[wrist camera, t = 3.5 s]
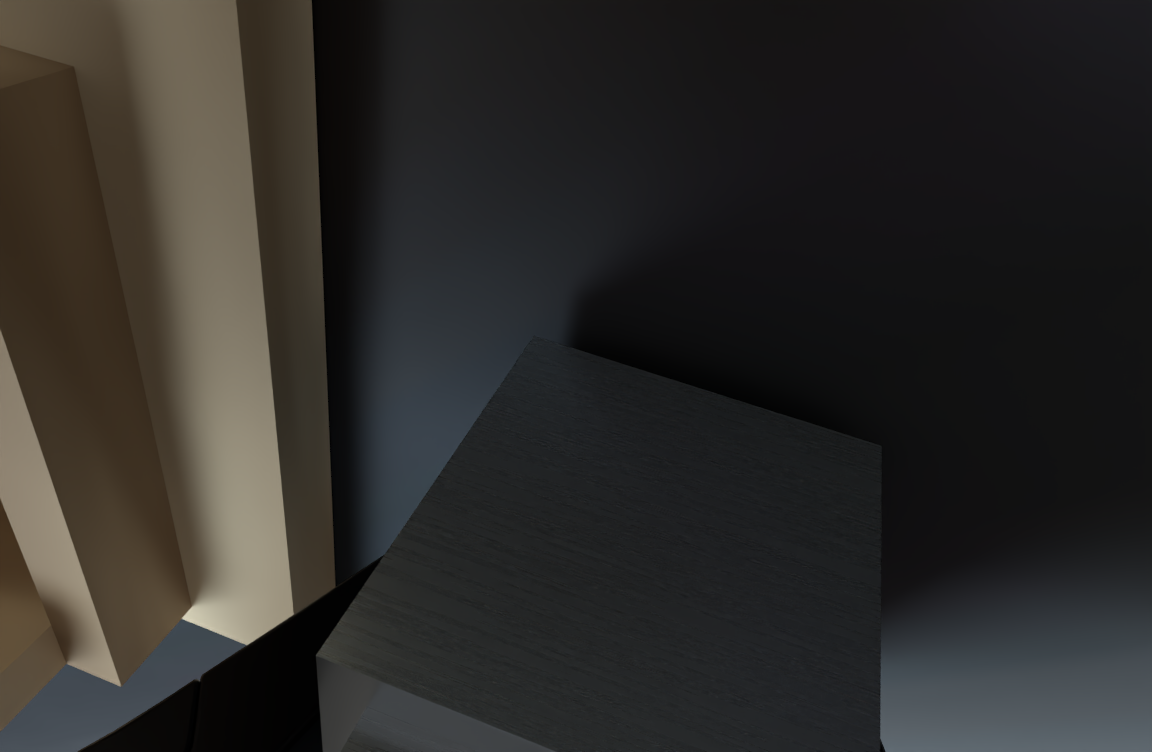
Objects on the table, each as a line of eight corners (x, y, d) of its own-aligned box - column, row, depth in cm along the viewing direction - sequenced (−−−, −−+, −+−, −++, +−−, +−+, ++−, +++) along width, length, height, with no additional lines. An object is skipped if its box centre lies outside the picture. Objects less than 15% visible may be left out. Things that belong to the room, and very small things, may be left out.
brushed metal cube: (881, 445, 9) (879, 949, 5) (749, 697, 12) (682, 1132, 8) (533, 335, 9) (283, 704, 5) (494, 602, 12) (314, 961, 8)
